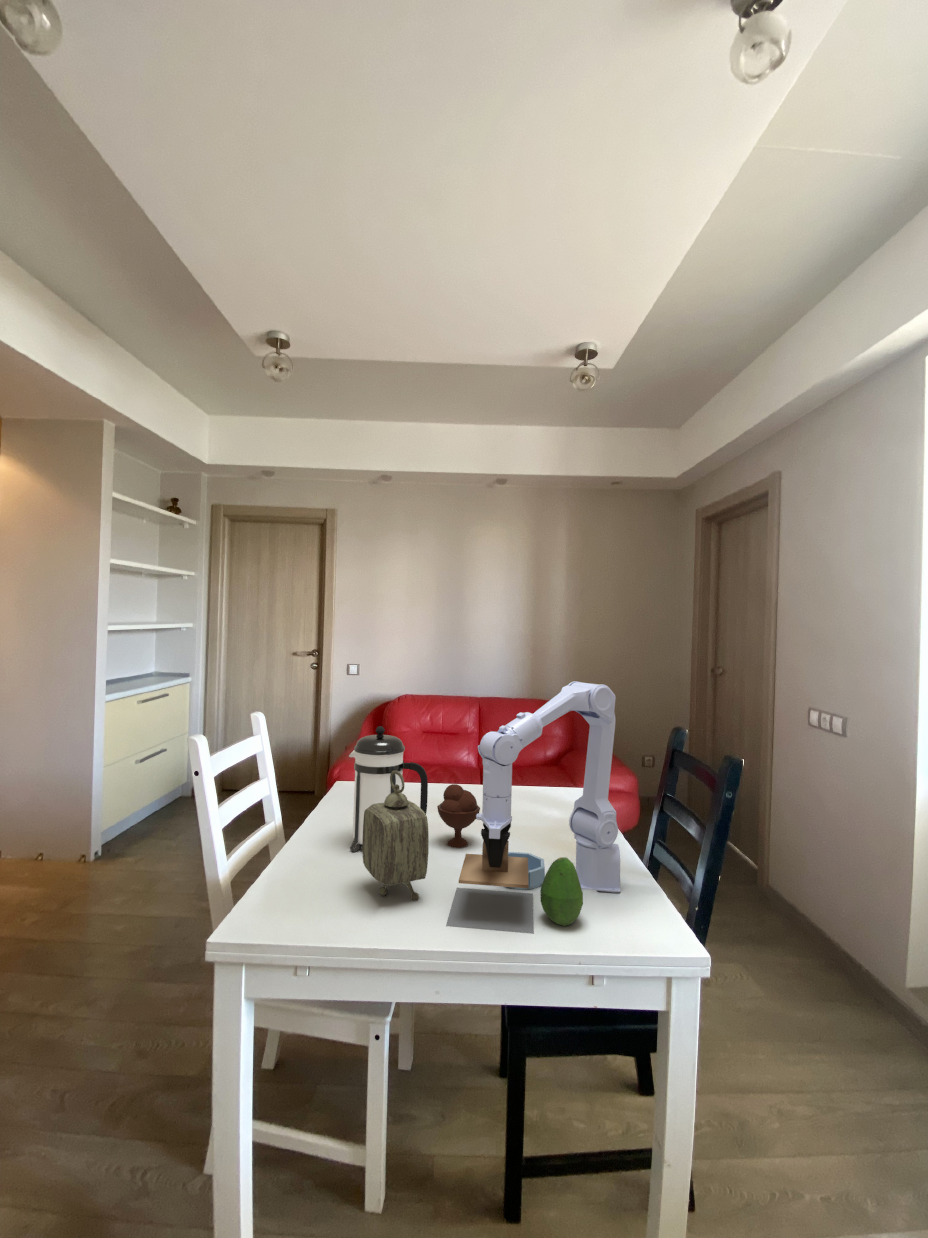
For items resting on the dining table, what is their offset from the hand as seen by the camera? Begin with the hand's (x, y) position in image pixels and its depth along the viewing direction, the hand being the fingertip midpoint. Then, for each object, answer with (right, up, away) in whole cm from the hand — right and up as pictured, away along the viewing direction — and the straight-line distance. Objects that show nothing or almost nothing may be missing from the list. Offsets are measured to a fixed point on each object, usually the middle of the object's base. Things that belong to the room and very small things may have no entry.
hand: (495, 863), depth 111 cm
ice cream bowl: (-8, -10, +34) cm, 36 cm away
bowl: (+6, -9, +13) cm, 17 cm away
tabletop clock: (-21, -9, +5) cm, 23 cm away
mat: (-1, -9, -1) cm, 9 cm away
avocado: (+12, -9, -5) cm, 16 cm away
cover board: (0, -2, 0) cm, 2 cm away
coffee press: (-27, -9, +32) cm, 43 cm away
